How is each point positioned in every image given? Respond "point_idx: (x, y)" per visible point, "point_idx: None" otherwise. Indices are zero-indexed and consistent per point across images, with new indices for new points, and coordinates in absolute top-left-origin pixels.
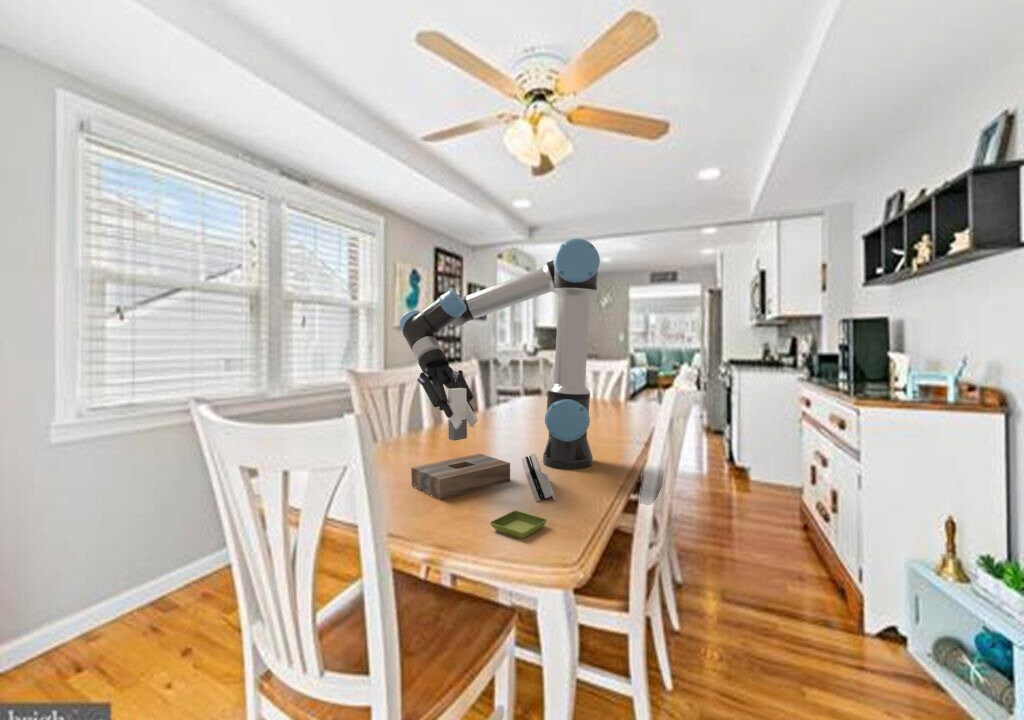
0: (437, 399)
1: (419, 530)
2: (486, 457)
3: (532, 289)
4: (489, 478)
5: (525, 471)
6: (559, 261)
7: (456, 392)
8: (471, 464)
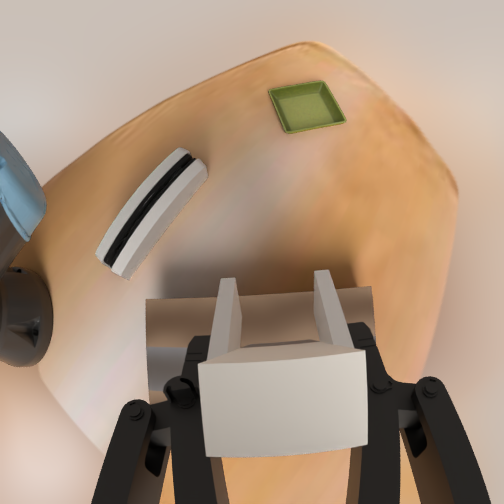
0: (440, 389)
1: (431, 188)
2: (159, 387)
3: None
4: None
5: (197, 170)
6: None
7: (323, 354)
8: None
